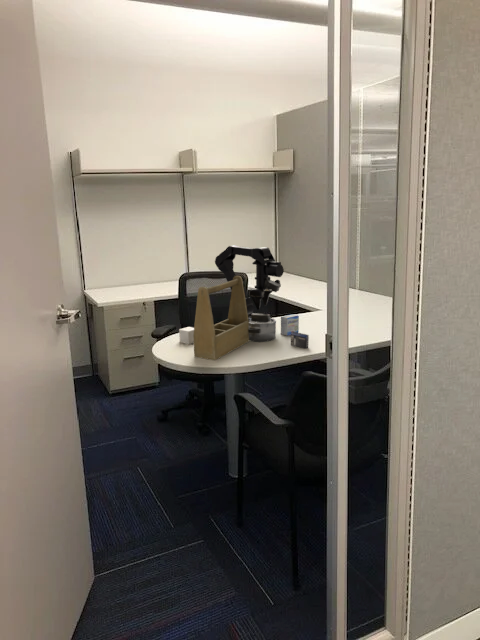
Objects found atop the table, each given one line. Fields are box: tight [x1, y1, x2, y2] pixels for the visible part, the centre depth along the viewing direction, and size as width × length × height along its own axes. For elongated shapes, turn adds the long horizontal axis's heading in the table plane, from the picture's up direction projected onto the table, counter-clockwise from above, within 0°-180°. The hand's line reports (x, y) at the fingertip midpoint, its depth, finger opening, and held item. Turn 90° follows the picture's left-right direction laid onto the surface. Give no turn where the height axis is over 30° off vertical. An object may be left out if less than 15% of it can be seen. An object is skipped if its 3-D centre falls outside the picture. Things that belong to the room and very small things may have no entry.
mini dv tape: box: [290, 332, 310, 350], centre depth 222 cm, size 8×2×6 cm, turn 48°
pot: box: [248, 317, 277, 343], centre depth 236 cm, size 14×19×8 cm
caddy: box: [193, 275, 249, 361], centre depth 217 cm, size 29×11×30 cm, turn 151°
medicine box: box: [280, 314, 300, 336], centre depth 242 cm, size 8×4×9 cm, turn 129°
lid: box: [249, 312, 272, 324], centre depth 235 cm, size 10×10×4 cm
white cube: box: [178, 326, 194, 345], centre depth 232 cm, size 6×6×6 cm
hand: (261, 307), depth 240 cm, fingers open, 9 cm apart
